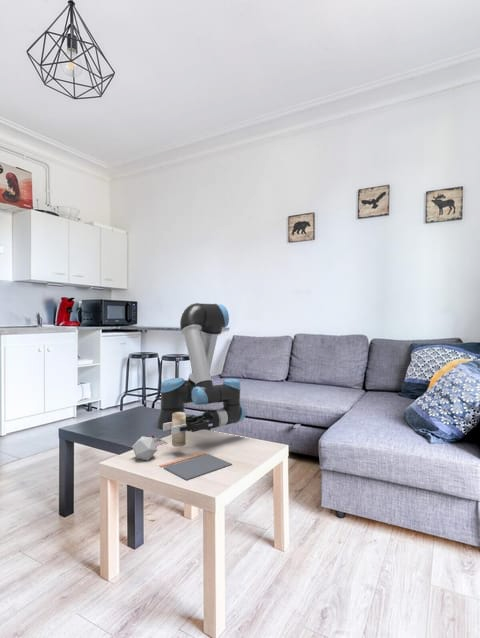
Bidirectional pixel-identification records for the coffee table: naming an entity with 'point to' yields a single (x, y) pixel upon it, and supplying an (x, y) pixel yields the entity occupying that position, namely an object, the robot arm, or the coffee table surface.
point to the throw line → (182, 459)
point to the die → (144, 448)
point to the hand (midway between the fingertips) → (167, 428)
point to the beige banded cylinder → (177, 419)
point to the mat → (197, 466)
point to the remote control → (158, 441)
